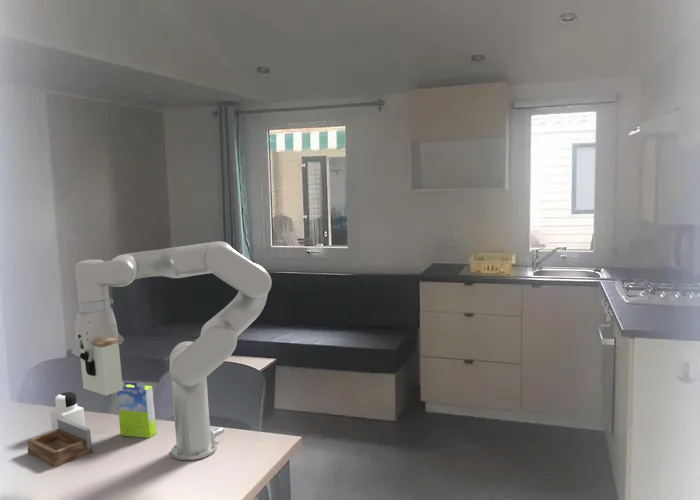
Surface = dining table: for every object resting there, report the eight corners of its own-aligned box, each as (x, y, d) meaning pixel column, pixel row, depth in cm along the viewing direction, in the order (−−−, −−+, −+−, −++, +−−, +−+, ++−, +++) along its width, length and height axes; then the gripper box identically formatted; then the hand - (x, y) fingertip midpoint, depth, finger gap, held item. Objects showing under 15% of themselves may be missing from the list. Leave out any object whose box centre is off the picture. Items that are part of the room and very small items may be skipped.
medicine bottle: (73, 424, 198) (70, 388, 196) (86, 429, 194) (82, 392, 192) (52, 432, 192) (48, 395, 191) (64, 437, 188) (60, 399, 186)
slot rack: (63, 439, 186) (61, 417, 185) (92, 452, 177) (90, 429, 176) (28, 453, 178) (25, 430, 177) (56, 467, 168) (53, 443, 167)
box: (157, 433, 188) (152, 379, 186) (149, 439, 184) (144, 383, 182) (127, 430, 191) (122, 377, 189) (119, 436, 187) (114, 381, 185)
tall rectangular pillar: (100, 382, 172) (95, 334, 170) (123, 389, 165) (118, 339, 163) (83, 388, 168) (78, 338, 166) (106, 395, 161) (100, 343, 159)
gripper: (115, 298, 172) (121, 361, 175) (56, 311, 159) (63, 379, 161) (131, 301, 168) (137, 365, 170) (71, 314, 155) (79, 383, 157)
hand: (101, 371), depth 166 cm, fingers closed on tall rectangular pillar, 5 cm apart
